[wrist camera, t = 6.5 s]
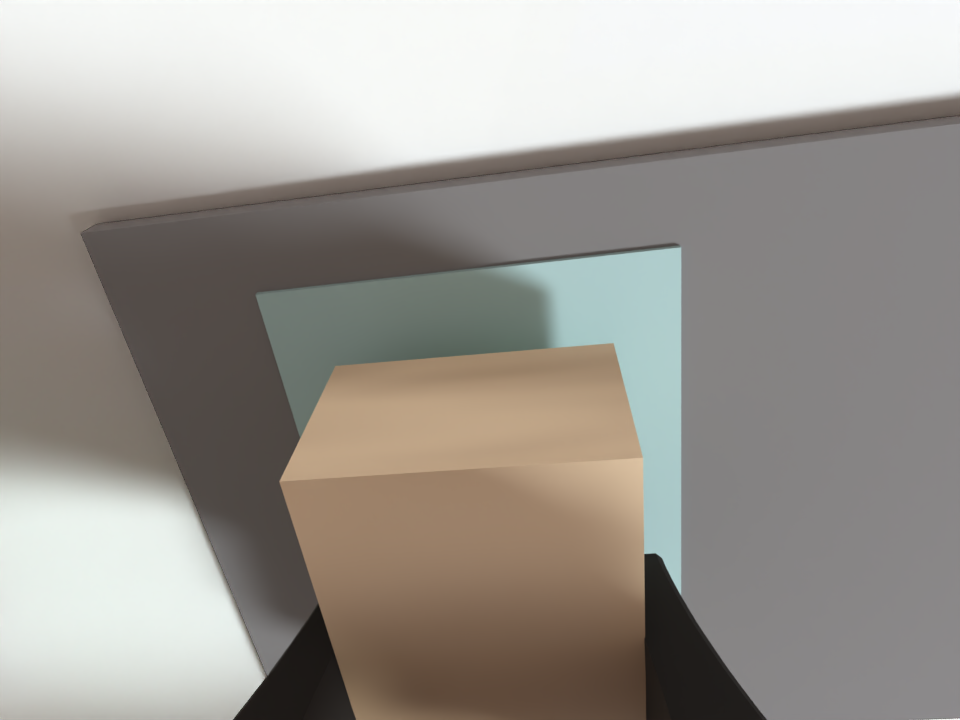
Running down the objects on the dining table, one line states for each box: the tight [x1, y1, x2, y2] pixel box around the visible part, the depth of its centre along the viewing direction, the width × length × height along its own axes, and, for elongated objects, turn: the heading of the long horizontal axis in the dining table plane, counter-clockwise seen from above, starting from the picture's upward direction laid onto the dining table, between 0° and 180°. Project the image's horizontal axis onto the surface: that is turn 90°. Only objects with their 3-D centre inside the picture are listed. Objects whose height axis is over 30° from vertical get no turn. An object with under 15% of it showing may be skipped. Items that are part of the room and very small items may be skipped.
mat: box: [81, 116, 960, 720], centre depth 14 cm, size 24×14×1 cm, turn 98°
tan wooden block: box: [279, 343, 646, 720], centre depth 12 cm, size 9×4×3 cm, turn 7°
